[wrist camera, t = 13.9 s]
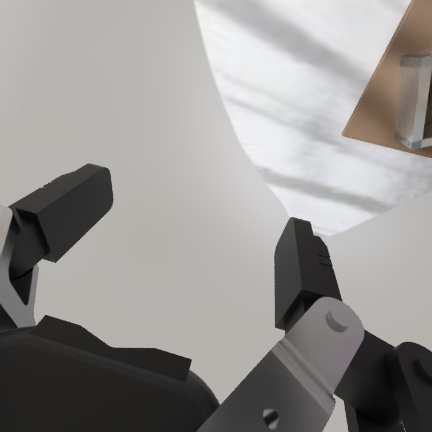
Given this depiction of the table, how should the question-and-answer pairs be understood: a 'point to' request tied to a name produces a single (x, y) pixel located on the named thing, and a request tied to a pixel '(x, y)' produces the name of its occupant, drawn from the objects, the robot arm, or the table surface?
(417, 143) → the collar
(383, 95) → the walnut board
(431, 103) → the handle
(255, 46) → the table surface
